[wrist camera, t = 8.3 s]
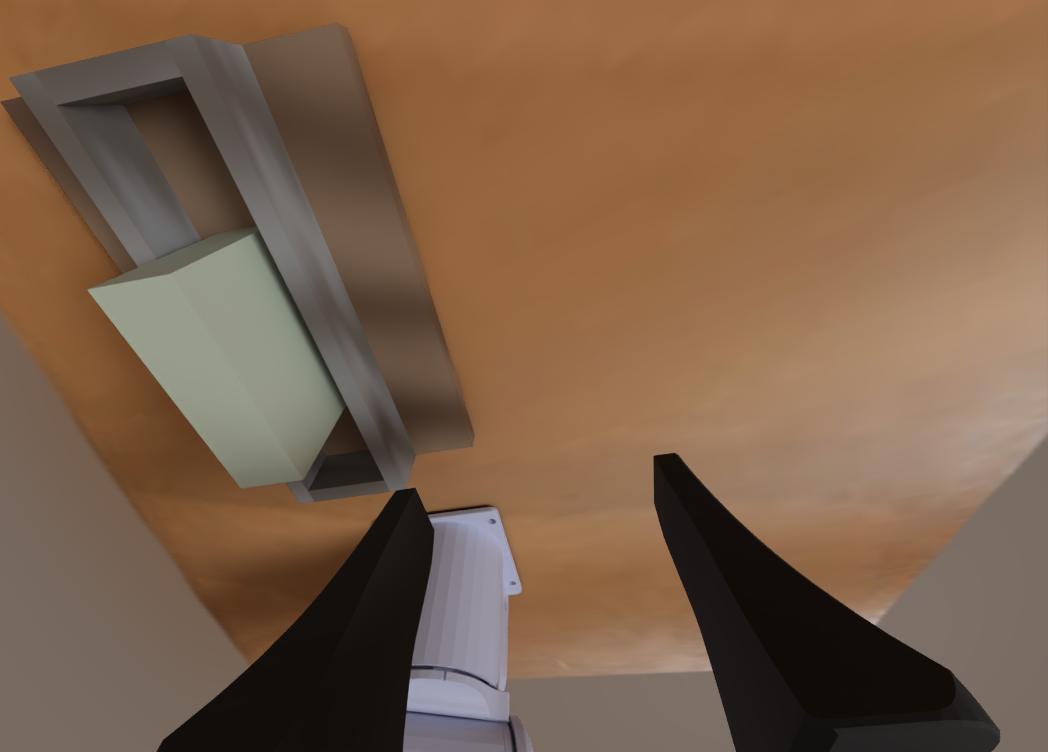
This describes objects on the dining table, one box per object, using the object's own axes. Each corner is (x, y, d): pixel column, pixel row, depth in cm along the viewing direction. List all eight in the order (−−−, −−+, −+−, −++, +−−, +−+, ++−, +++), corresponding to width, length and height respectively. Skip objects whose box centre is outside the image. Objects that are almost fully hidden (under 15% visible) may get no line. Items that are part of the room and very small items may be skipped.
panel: (355, 388, 21) (303, 479, 16) (307, 396, 21) (240, 488, 16) (276, 222, 16) (169, 273, 11) (217, 233, 17) (86, 289, 12)
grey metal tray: (474, 434, 24) (468, 481, 21) (274, 463, 25) (241, 511, 22) (347, 27, 14) (302, 7, 11) (29, 102, 15) (-90, 101, 12)
